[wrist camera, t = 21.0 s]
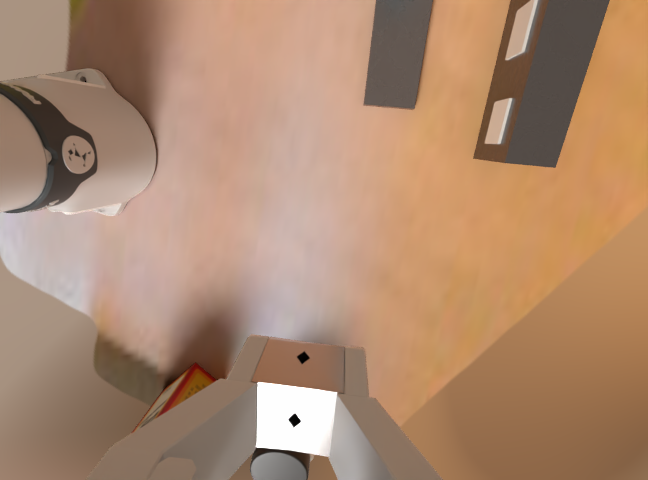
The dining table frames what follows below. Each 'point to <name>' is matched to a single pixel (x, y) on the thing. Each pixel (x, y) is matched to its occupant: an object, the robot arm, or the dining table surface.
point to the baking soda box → (178, 392)
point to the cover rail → (397, 52)
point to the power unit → (538, 79)
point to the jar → (279, 464)
